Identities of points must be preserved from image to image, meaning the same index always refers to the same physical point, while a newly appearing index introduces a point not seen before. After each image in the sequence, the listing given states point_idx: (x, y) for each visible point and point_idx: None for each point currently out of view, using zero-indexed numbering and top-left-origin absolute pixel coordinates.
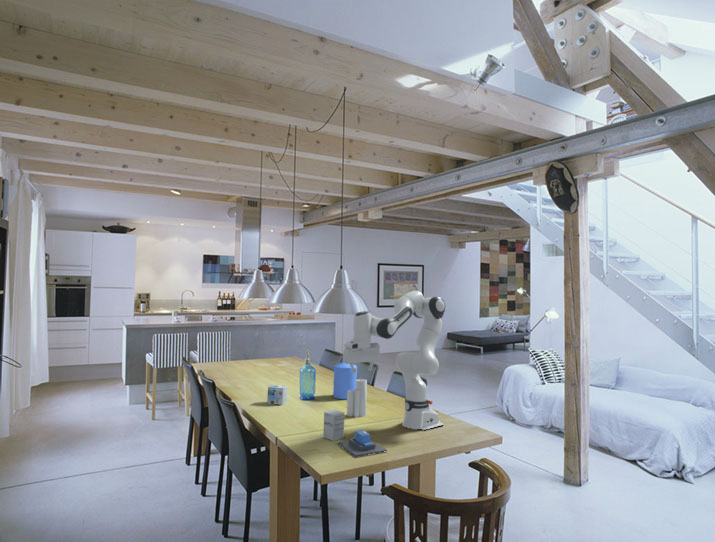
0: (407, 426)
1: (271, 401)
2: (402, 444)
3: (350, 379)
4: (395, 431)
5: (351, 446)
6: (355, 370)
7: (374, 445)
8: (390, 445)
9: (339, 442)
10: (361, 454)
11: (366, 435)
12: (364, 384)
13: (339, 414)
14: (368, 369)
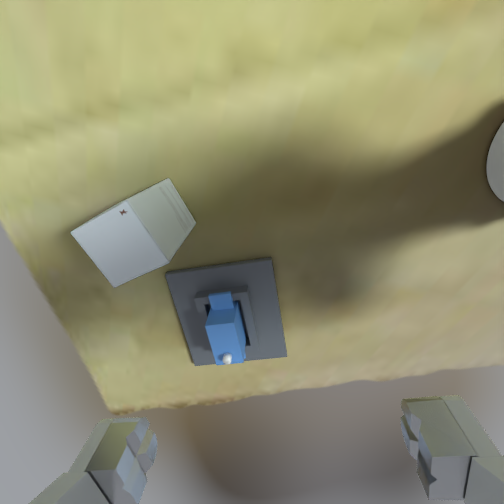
0: (492, 177)
1: None
2: (358, 317)
3: None
4: (414, 199)
5: (198, 315)
6: (145, 471)
7: (256, 349)
8: (319, 315)
9: (169, 278)
10: (211, 363)
11: (231, 362)
12: None
13: (143, 274)
14: (407, 419)
